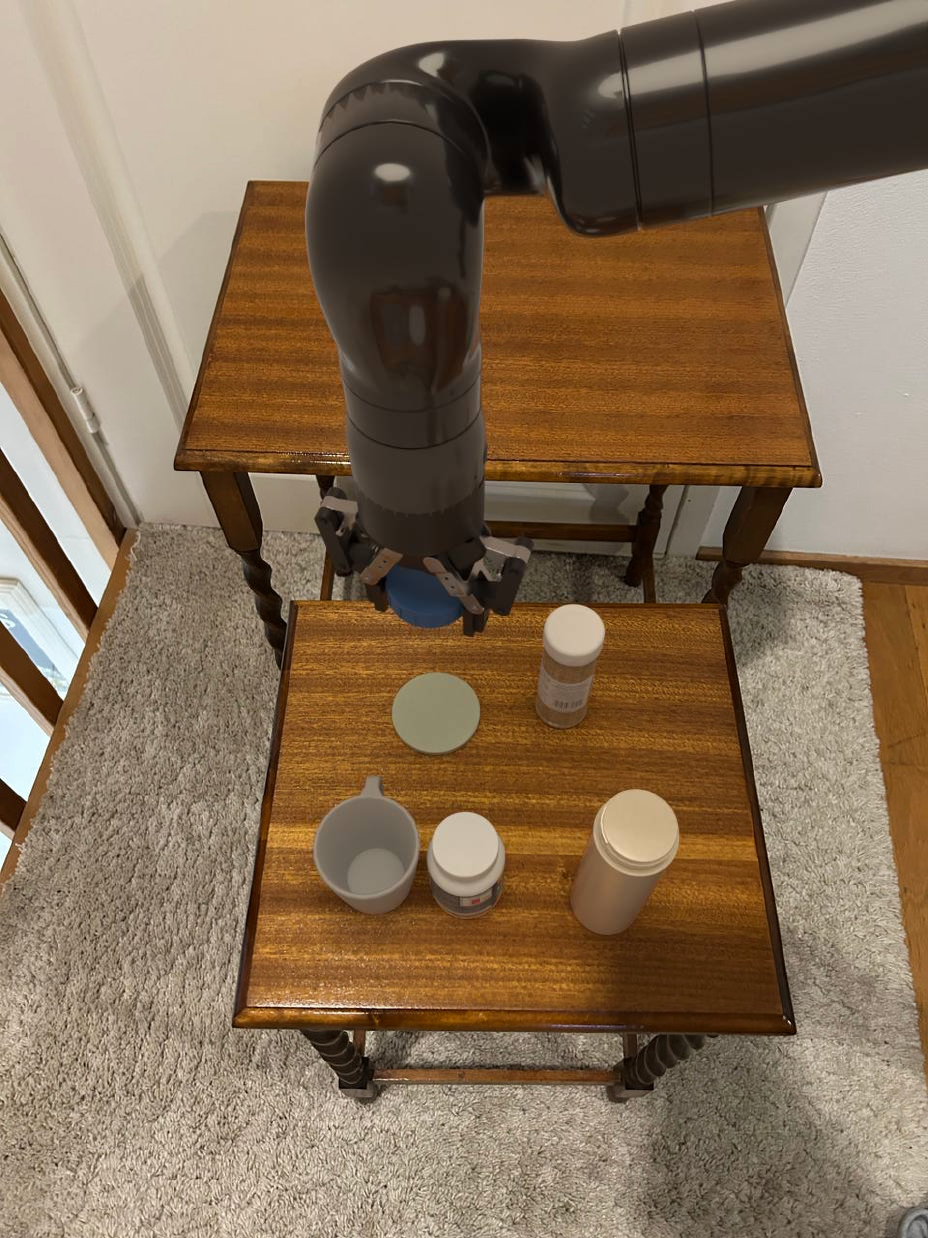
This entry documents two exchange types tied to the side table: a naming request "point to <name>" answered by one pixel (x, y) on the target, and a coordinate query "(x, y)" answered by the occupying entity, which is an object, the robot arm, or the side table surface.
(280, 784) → the side table surface
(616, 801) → the beige plastic cylinder
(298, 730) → the side table surface
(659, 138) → the robot arm
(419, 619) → the lid
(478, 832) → the pill bottle
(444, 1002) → the side table surface
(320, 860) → the cup
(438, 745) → the coaster
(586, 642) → the sprinkles bottle
